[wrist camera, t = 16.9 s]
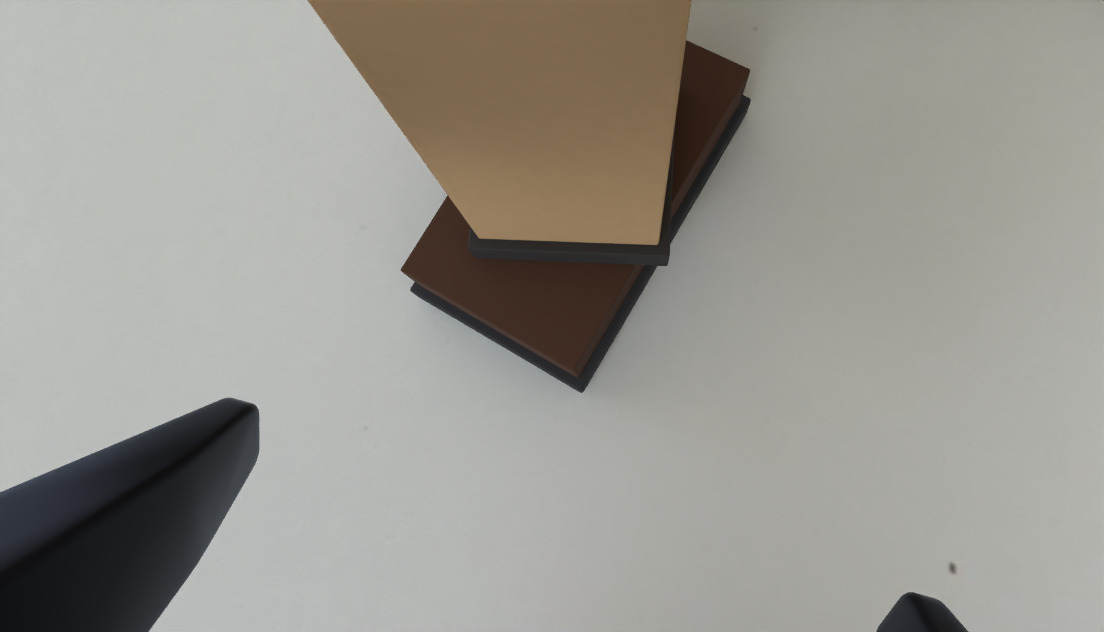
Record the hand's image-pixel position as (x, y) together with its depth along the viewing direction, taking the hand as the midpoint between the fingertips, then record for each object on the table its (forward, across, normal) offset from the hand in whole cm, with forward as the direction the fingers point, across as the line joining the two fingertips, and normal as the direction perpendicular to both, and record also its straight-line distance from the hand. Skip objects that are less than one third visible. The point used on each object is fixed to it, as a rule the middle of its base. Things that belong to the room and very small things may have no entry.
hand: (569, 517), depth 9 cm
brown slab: (+15, +2, +2) cm, 15 cm away
